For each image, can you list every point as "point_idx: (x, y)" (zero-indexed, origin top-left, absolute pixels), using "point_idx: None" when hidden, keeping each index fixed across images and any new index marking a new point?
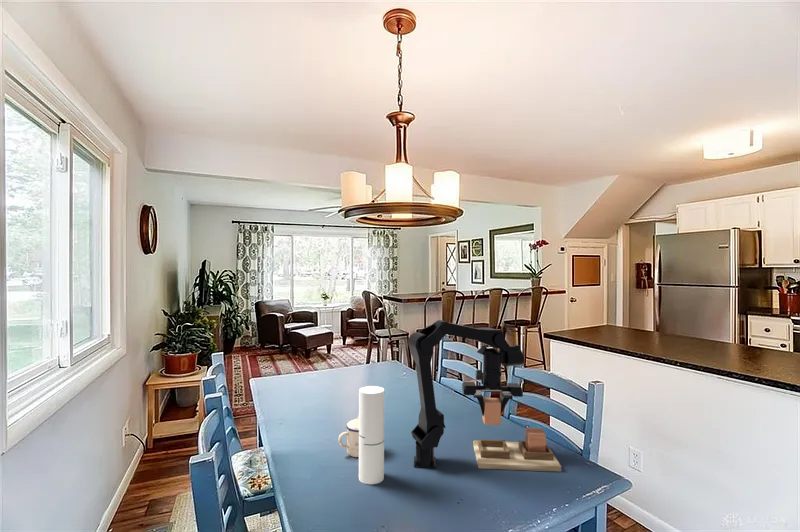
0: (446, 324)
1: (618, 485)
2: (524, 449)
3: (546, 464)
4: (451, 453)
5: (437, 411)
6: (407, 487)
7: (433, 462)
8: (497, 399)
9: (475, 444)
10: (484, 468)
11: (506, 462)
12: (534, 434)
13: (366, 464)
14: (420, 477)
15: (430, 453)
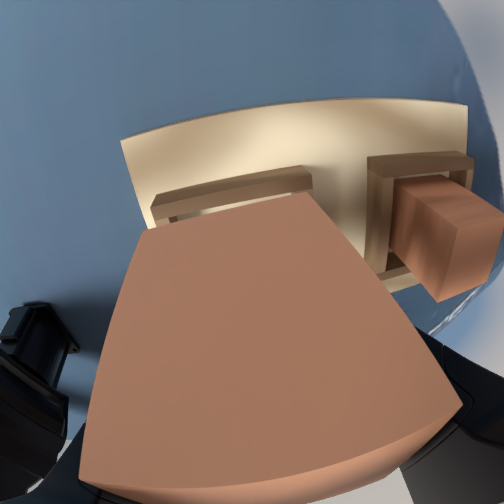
0: None
1: (491, 281)
2: (383, 255)
3: (415, 277)
4: (70, 254)
5: (32, 484)
6: (83, 400)
7: (64, 340)
8: (406, 452)
9: (141, 187)
10: None
11: None
12: (454, 294)
13: None
14: (78, 378)
15: (56, 374)
